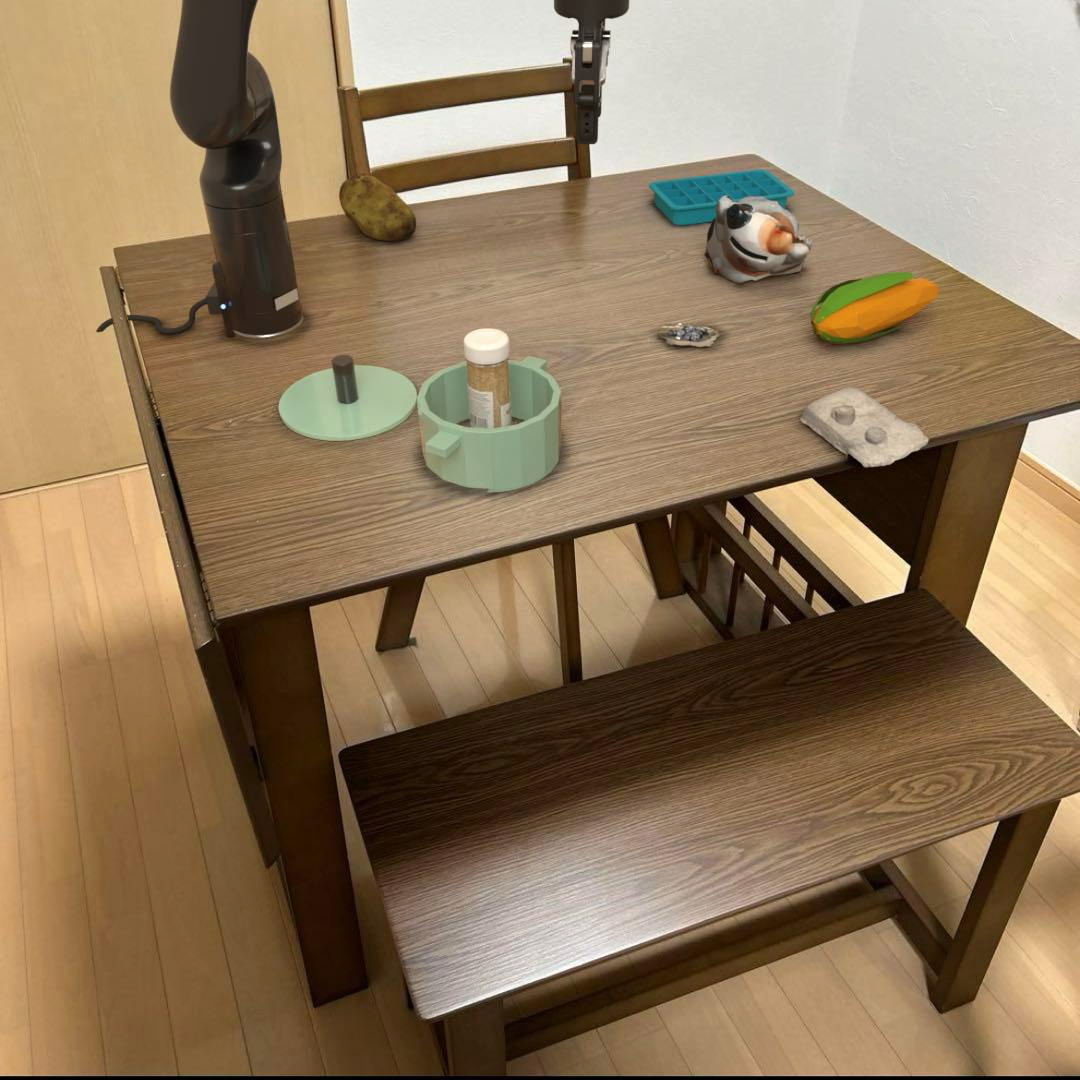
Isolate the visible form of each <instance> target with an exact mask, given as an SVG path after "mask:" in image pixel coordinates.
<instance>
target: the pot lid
mask: <svg viewBox="0 0 1080 1080" xmlns="http://www.w3.org/2000/svg"><path fill="white" fill-rule="evenodd" d="M330 362H331V367H330V368H325V369H322V370H319V371H315V372H313V373H311V374H308V375H306V376H304V377H302V378H300V379H298V380H297V381H295V382H294V383H292V384H291V385H290V386H288V388H287V389H286V390H285V391H284V392H283V393H282V395H281V396H280V398H279V403H278V414H279V417H280V419H281V421H282V423H283V424H284V425H285V426H286V427H287V428H288V429H290V430H291V431H292V432H295V433H296V434H298V435H300V436H303V437H306V438H310V439H313V440H320V441H328V442H343V441H344V442H345V441H355V440H362V439H366V438H370V437H375V436H378V435H380V434H384V433H386V432H389V431H390V430H392V429H394V428H396V427H397V426H399V425H401V424H402V423H404V422H405V421H406V420H407V419H408V418H409V417H411V415H412V414H413V412H414V411H415V409H416V407H417V396H418V392H417V388H416V386H415V384H414V383H413V382H412V381H411V380H410V378H408V377H407V376H405V375H404V374H402V373H400V372H398V371H395V370H393V369H391V368H386V367H382V366H377V365H375V366H374V365H366V364H364V365H363V364H356V365H355V363H354V358H353V357H352V355H349V354H340V355H336V356H334V357H333V358H332V359H331V361H330Z"/></svg>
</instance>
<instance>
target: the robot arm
mask: <svg viewBox="0 0 1080 1080" xmlns="http://www.w3.org/2000/svg"><path fill="white" fill-rule="evenodd" d="M258 2H259V0H181V8H180V9H181V10H180V18H179V27H178V33H177V39H176V47H175V51H174V52H175V53H174V58H173V64H172V69H171V75H170V84H169V103H170V108H171V112H172V115H173V117H174V120H175V122H176V124H177V126H178V128H179V129H180V131H181V132H182V134H184V135H185V137H186V138H187V139H188V140H189V141H191V142H192V143H193V144H195V145H196V146H197V147H200V148H202V149H205V154H204V160H203V164H202V167H201V170H200V172H199V187H200V192H201V197H202V201H203V206H204V211H205V215H206V220H207V224H208V229H209V233H210V238H211V242H212V247H213V252H214V258H215V260H214V262H212V265H211V270H212V276H213V280H214V283H212V285H211V287H210V289H209V290H208V291H207V293H206V295H205V297H204V298H203V299H201V300H199V301H196V303H194V304H193V305H192V306H191V308H190V309H189V313H188V320H187V322H185V323H184V324H182V325H180V326H178V327H177V326H176V327H169V328H168V327H167V328H166V327H163V326H162V322H161V320H160V319H159V318H157V317H155V316H149V315H142V314H126V315H127V317H128V320H129V321H130V322H145V323H152V324H154V326H155V329H156V331H157V332H158V333H159V334H162V335H177V334H181V333H184V332H186V331H187V330H189V329H190V328H192V327H193V325H194V324H195V321H196V313H197V312H198V310H199V309H201V308H202V307H204V306H206V305H207V309H208V314H209V315H210V316H217V315H218V316H221V317H222V322H223V325H224V329H225V330H224V331H225V335H226V337H234V338H235V337H238V338H241V339H245V340H252V341H264V340H266V341H267V340H273V339H274V340H275V339H277V338H282V337H285V336H287V335H290V334H292V333H294V332H295V331H297V330H299V329H300V328H301V327H302V325H303V323H304V321H305V316H304V312H303V307H302V303H301V298H300V297H301V296H300V292H299V291H300V290H299V285H298V279H297V273H296V266H295V262H294V256H293V255H294V254H293V250H292V244H291V238H290V232H289V226H288V220H287V214H286V209H285V203H284V196H283V191H282V184H281V171H282V163H283V155H282V152H283V151H282V145H281V144H282V143H281V136H280V130H279V123H278V122H279V120H278V114H277V106H276V101H275V94H274V90H273V86H272V83H271V80H270V77H269V75H268V73H267V71H266V69H265V68H264V66H263V64H262V63H261V62H260V61H259V60H258V58H257V56H255V55H254V54H252V53H251V52H250V51H249V43H250V32H251V28H252V22H253V19H254V15H255V11H256V8H257V4H258ZM553 9H554V12H555V13H556V14H557V15H559V16H560V17H562V18H566V19H574V20H576V21H577V23H578V29H572V32H571V36H570V47H569V48H570V49H569V50H570V55H571V82H572V84H573V85H574V92H573V93H574V94H573V96H572V102H573V104H574V107H576V123H575V125H576V126H575V127H576V131H575V132H576V133H575V135H576V136H575V138H576V139H575V140H576V143H577V144H579V145H596V144H597V143H598V140H599V118H600V117H601V115H602V102H603V100H602V99H603V85H605V84H606V82H607V81H606V79H607V67H608V64H609V56H610V49H611V37H612V30H610V29H606V20H607V19H609V20H615V19H617V18H621V17H622V16H624V15H626V14H627V13H628V12H629V9H630V0H553ZM112 318H113V317H111V318H108V319H107V320H105V321H103V322H102V323H101V324H100V325H99V326H98V327H97V328H96V331H95V332H96V333H102V332H105V330H106V329H107V328H109V327H111V326H112V325H114V324H115V323H113V319H112ZM129 321H128V322H129Z"/></svg>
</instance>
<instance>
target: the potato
mask: <svg viewBox="0 0 1080 1080" xmlns="http://www.w3.org/2000/svg"><path fill="white" fill-rule="evenodd" d="M338 198H339V202H340V206H341V209H342V211H343V213H344V215H345V217H347V219H348V220H349V221H351V222H352V223H354V224H356V225H357V226H358V227H359V229H360V231H361V232H362V233H363V234H364V235H365V236H367V237H369V238H371V239H374V240H376V241H382V242H383V241H384V242H397V241H405V240H406V239H408V238H410V237H411V236H413V235H414V234H415V232H416V229H417V218H416V216H415V213H414V212H413V210H412V208H411V207H410V206H408V204H407V203H406V202H405V201H404V200H403V199H402V198H401V196H399V194H397V191H396V190H394V189H392V188H391V186H389V185H387V184H385V183H384V182H382V181H381V180H380V179H379V178H377V177H375V176H374V175H370V174H366V173H361V174H360V173H359V174H354V175H352V176H351V177H348V178H347V179H346V180H344V181H343V182H342V184H341V185H340V187H339V194H338Z"/></svg>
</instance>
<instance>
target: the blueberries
mask: <svg viewBox="0 0 1080 1080" xmlns="http://www.w3.org/2000/svg"><path fill="white" fill-rule="evenodd" d="M656 335H659V336H660V338H662V339H665V340H666V341H665V342H666V344H669V345H670V346H673V345H676V346H691V347H697V348H702V347H711V346H712V345H713V344H715V342H714V341H716V340H717V339H718V338H719V337H720V333H719V331H717V330H715V329H713V328H710V327H708V326H698V325H694V326H692V325H691V324H685V325H684V324H682V323H681V322H678V324H676V323H675V324H671V323H669V324H664V325H662V326H660V328H659V329H658V331H657V332H656Z"/></svg>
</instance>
